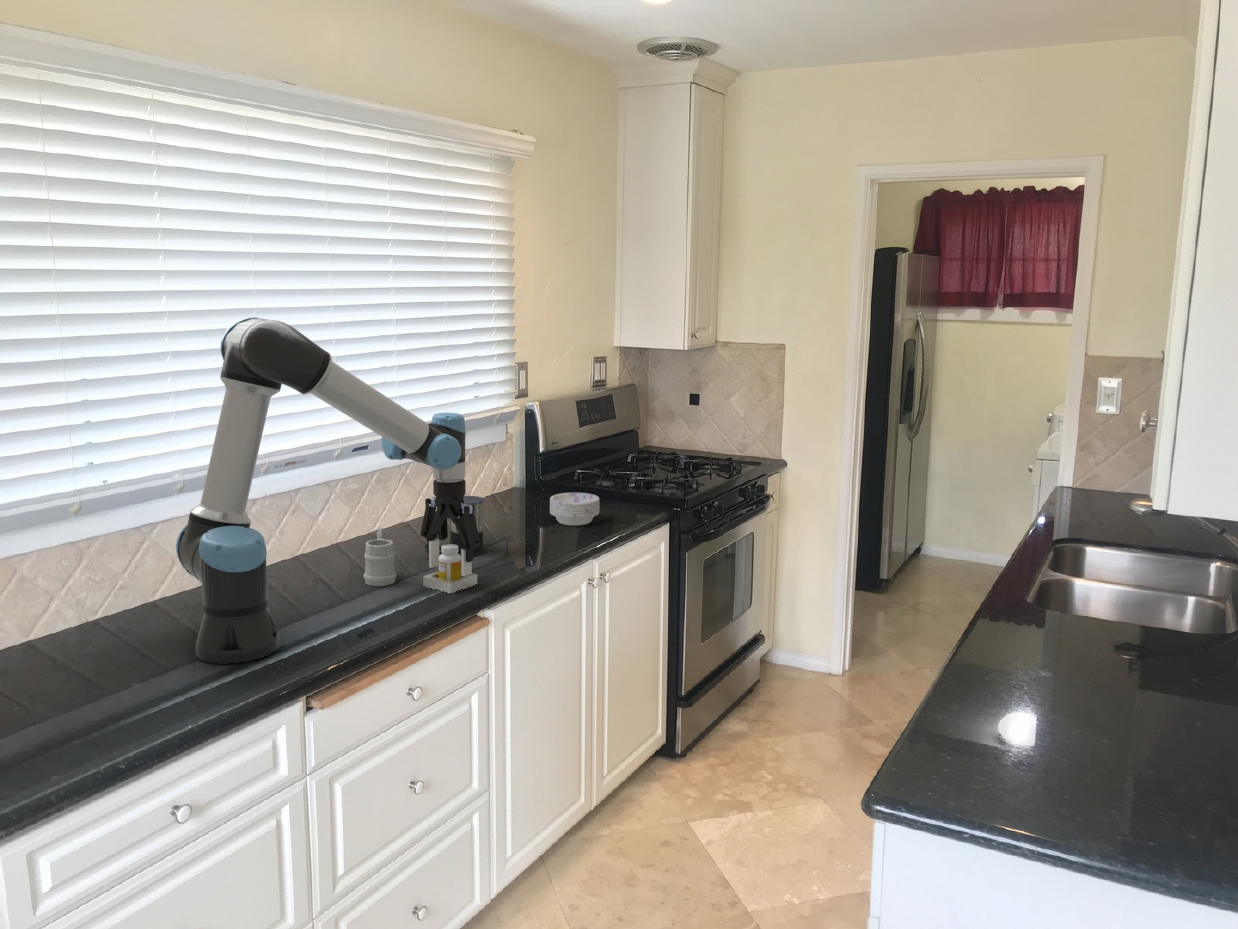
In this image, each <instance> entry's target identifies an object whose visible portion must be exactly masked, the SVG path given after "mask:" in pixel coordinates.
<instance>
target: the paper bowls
mask: <svg viewBox="0 0 1238 929" xmlns="http://www.w3.org/2000/svg"><path fill="white" fill-rule="evenodd" d="M600 508H601V507H600V497H599V496H598V495H596V494H592V493H588V492H562V493H556V494H554V495H552V496H550V497H549V514H550V515H551V516H554V517H555V519H556V520H557V522H558V523H559V524H562V525H564V526H575V527H576V526H579V527H580V526H584V525H588V524H590V523H591V522H592V521H593V519H594V517H595V516H598V515H599V514H600Z"/></svg>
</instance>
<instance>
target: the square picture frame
mask: <svg viewBox="0 0 1238 929" xmlns="http://www.w3.org/2000/svg"><path fill="white" fill-rule="evenodd" d="M422 581H423V582H422V584H423V585H422V586H423V587H424V586H425V587H424V588H428V589H431V588H432V589H431V590H435V589H438V590H437V591H439V590H440V591H439V592H443V591H444V593H446V592H447V594H450V593H451V594H455V593H456V591H457V592H459V591H458V590H460V591H462V590H461V589H463V590H465V589H468V587H469V588H471V587H474V586H476V585H475V584H477V585H478V574H477V573H473V572H472V574H469V575H466V576H462V578H459V579H456V580H453V581H448V580H444V579H440V578H439V570H438V571H436V572H433V573H429V574H426V575H423V576H422ZM473 585H474V586H473Z"/></svg>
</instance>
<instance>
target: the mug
mask: <svg viewBox="0 0 1238 929" xmlns="http://www.w3.org/2000/svg"><path fill="white" fill-rule="evenodd" d="M376 529H377V530H376V531H377V534H376V536H377V538H376V539H371V540H368V541H366V542H365V553H364V559H365V561H364V562H365V565H364V566H365V567H364V568H365V570H364V573H363V578H364V581H365V582H364V583H365V584H366V585H367V586H372V587H386V586H389V585H393V584H395V583H396V578H397V571H396V569H395V568H396V567H395V557H396V553H395V552H394V551H395V550H394V541H393V540H391V539H386V538H384V536H383V527H382V526H381V527H377V528H376Z"/></svg>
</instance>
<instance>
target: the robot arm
mask: <svg viewBox="0 0 1238 929" xmlns="http://www.w3.org/2000/svg"><path fill="white" fill-rule="evenodd" d="M220 353H221V357H222V360H223V363H222V367H221V371H220V375H219V376H220V377H219V378H220V380H221V381H222V383H223V384H224V386H225V392H224V396H223V399H222V405H221V410H220V415H219V419H218V424H217V427H216V433H215V437H214V441H213V446H212V450H211V456H210V458H209V459H210V460H209V463H208V469H207V472H206V476H205V481H204V486H203V491H202V495H201V499H200V503H199V504H198V505H197V506H195V507H193V508H192V509H190V511H189V516H188V520H187V524H186V525H184V527H183V528H182V529H181V530H180V532H179V533H178V536H177V539H176V543H175V544H176V545H175V549H176V550H175V551H176V555H177V558H178V561H179V563H180V564H181V567H182V568H183V569H184V570H185V571H186V573H188V574H189V575H190V576H192V577H193V578H195V579H196V580H197V581H199V583H200V584H201V590H202V591H201V592H202V607H203V608H202V610H203V616H202V619H201V623H200V626H199V630H198V634H197V638H196V640H195V656H196V658H197V659H199V660H200V661H203V662H206V663H209V664H216V663H217V664H219V665H226V664H227V665H230V664H229V663H234V664H240V663H239V662H243V663H247V662H252V660H253V661H256V660H255V659H257V660H259V659H258V658H260V657H262V656H266V657H268V656H270V655H272V654H273V653H272V652H274V651H275V650H276V651H277V650H279V648H280V635H279V631H278V629H277V626H276V624H275V622H274V619H273V617H272V615H271V612H270V610H269V597H268V595H269V594H268V575H267V570H268V568H267V554H268V553H267V546H266V541H265V537H264V536H263V534H262V533H261V532H260V531H258V530H257V529H254V528H253V527H252V528H251V525H252V524H251V523H252V520H251V518H250V517H249V515H248V514H247V512H246V509H247V506H248V505H247V504H248V500H249V497H250V493H251V492H250V491H251V486H252V481H253V478H254V473H255V469H256V465H257V459H258V456H259V450H260V447H261V442H262V438H263V433H264V429H265V428H264V427H265V426H266V424H265V423H266V419H267V415H268V410H269V405H270V401H271V398H272V397H273V396H275V395H276V394H278V393H280V392H281V388H282V385H285V386H286V387H288V388H291V389H293V390H295V391H297V392H298V393H300V394H302V395H308V394H311V395H313V396H314V397H316V398H318V399H320V400H321V401H323V402H325V403H326V404H328V405H330V406H331V407H333V408H334V409H335V410H338V411H339V412H341V413H342V414H345V415H346V416H347V417H349V418H351V419H352V420H354V421H356V422H357V423H359V424H361V425H362V426H364V427H365V428H367V429H369V431H372V432H374V433H375V434H377V435H378V436H380V437H381V447H382V450H383V453H384V456H386V459H389V460H392V461H393V460H399V461H402V460H411V461H413V462H417V463H419V464H423V465H427V466H429V467H432V478H433V481H432V486H433V488H432V490H433V492H432V493H433V496H432V497H427V498H425V500H424V504H425V511H424V515H423V519H422V523H421V528H420V529H421V530H420V534H419V535H420V537H421V538H422V537H423V538H425V539H426V545H427V551H428V553H429V555H428V568H430V569H433V568H436V567H439V551H440V550H439V546H440V540H439V539H438V533H439V531H440V529H441V526H442V524H443V522H444V520H445V518H446V517H447V519H448V520H450V521H451V520H452V522H453V523H454V524H455V526H456V529H457V531H458V534H459V536H460V539H461V541H462V543H463V546H464V548H462V549H461V576H466V575H469V574H472V573H473V571H472V570H473V569H472V567H473V565H472V564H473V563H472V562H474V556H473V549H474V547H477V546H480V544H481V543H480V538H479V534H478V529H477V524H476V520H475V515H474V512H475V506H474V505H473V504H472V505H467V504H465V502H464V499H463V498H464V496H466V493H467V492H466V490H467V489H466V488H467V487H466V486H467V483H466V480H465V479H464V478H466V434H467V432H466V430H467V429H466V421H465V417H464V415H463V414H461V413H458V412H438V413H435V414H433V415H432V416H431V417H432V420H431V422H429V423H427V422H426V421H425V420H423V419H421V418H420V417H418V416H417V415H415V414H414V413H413V412H410V411H409V410H407V409H406V408H404V407H403V406H402V405H400V404H398V403H397V402H395V401H393V399H390V398H389V397H387V396H386V395H385V394H383V393H381V392H380V391H378V390H376V388H374V387H372V386H371V385H369V384H368V383H366V382H365V381H363V380H362V379H360V378H358V377H357V376H356V375H354V374H352V373H351V372H349V371H348V370H347V369H345V368H343V367H342V366H340V365H339V364H337V363H335V362H334V361H333V360H332V359H333V358H332V355H331V353H330V352H328V351H326V350H325V349H324V348H322V347H320V346H319V345H318V344H317V343H315V342H314V341H312V339H309V337H307V336H305V335H304V334H303V333H301V332H300V331H298V329H296V328H295V327H293V326H291V325H290V324H288V323H286V322H284V321H280V320H274V319H268V318H267V319H266V318H261V317H248V318H247V317H246V318H243V319H240V320H237V321H236V322H234V323H232V324H230V326H228V327H227V329H226V330H225V331H224V333H223V335H222V337H221V342H220ZM459 516H460V517H459ZM458 517H459V518H458ZM468 542H469V543H468ZM276 651H275V652H276ZM275 652H274V653H275ZM271 653H272V654H271ZM269 654H270V655H269ZM267 655H268V656H267ZM260 659H261V658H260ZM217 664H216V665H217Z"/></svg>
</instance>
